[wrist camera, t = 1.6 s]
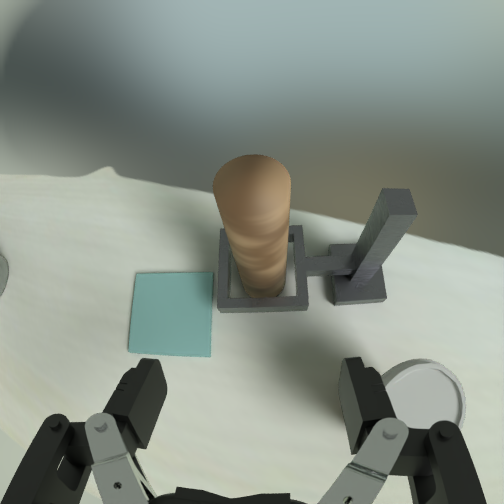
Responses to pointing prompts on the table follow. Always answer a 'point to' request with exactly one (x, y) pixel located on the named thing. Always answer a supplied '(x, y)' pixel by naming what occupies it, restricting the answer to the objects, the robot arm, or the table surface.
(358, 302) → the ring stand
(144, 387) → the robot arm
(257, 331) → the table surface
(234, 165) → the walnut rod
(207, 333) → the felt coaster
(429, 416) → the disposable coffee cup
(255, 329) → the table surface
